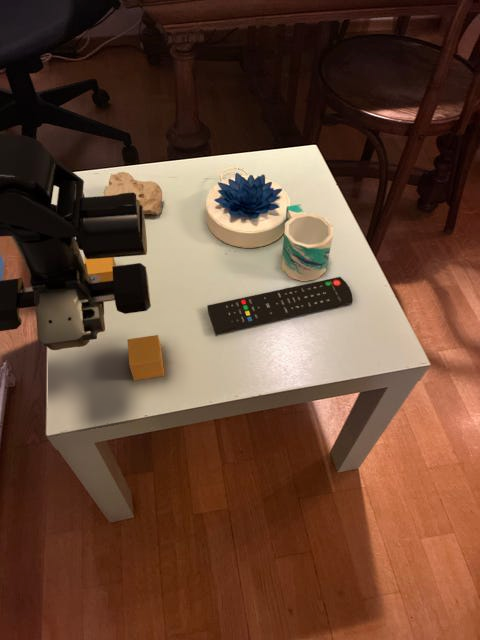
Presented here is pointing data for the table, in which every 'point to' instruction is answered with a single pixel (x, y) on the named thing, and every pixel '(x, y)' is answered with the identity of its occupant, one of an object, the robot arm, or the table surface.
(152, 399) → the table surface
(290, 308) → the remote control
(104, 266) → the ochre block middle
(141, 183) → the stone
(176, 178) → the table surface
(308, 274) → the mug
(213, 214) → the box with blue lotus
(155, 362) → the ochre block near
